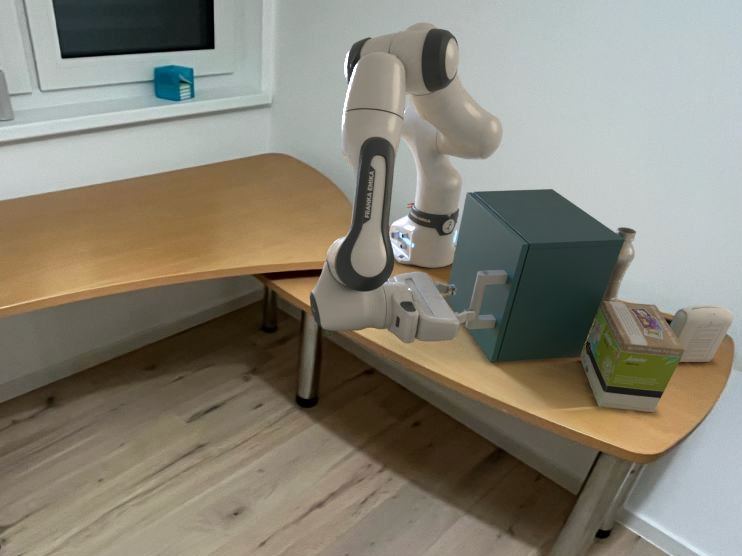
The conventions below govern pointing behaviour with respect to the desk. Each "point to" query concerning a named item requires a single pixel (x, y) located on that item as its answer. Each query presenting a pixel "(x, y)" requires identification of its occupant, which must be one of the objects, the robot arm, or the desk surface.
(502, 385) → the desk surface
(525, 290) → the box
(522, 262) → the fridge door
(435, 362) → the desk surface
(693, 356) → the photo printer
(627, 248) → the beige vase
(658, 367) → the tea box
